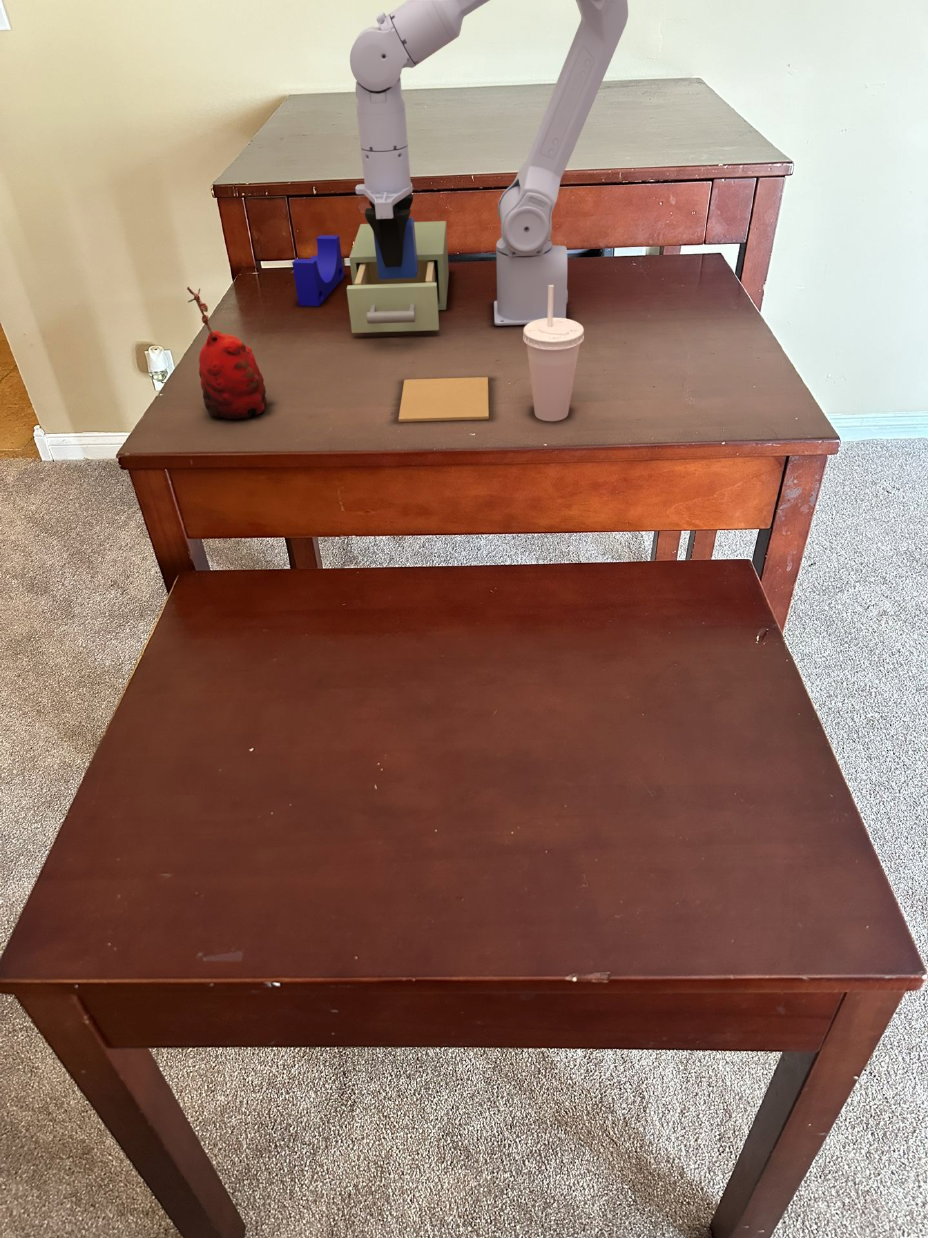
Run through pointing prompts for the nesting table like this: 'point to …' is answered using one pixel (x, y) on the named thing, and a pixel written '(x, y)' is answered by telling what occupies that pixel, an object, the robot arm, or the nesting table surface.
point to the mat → (444, 399)
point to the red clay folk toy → (229, 374)
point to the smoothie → (552, 362)
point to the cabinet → (428, 248)
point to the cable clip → (319, 272)
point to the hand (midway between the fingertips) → (394, 260)
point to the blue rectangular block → (409, 257)
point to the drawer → (394, 300)
